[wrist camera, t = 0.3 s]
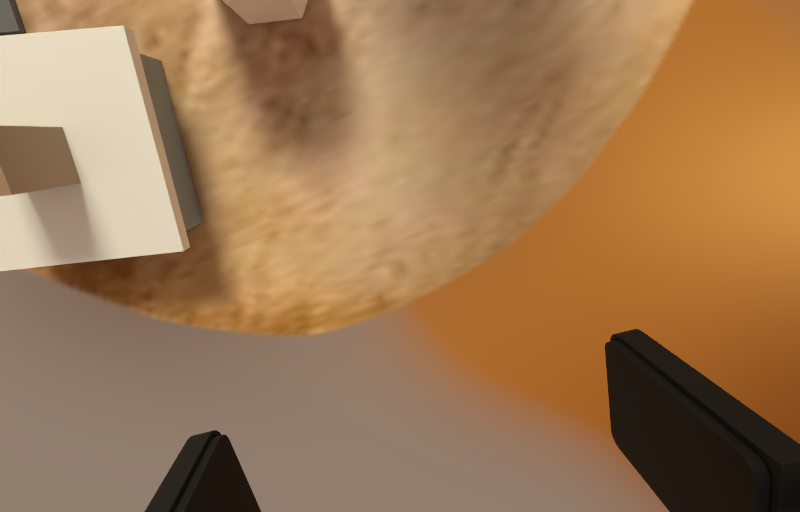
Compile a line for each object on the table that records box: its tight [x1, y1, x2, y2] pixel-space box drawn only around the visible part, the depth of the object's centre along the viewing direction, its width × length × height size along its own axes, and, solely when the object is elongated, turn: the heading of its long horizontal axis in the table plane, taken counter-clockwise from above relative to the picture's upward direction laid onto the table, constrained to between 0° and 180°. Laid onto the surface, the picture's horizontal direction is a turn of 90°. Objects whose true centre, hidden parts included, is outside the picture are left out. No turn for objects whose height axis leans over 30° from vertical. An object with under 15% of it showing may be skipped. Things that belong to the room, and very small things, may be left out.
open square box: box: [140, 54, 203, 231], centre depth 33 cm, size 14×14×6 cm
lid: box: [0, 26, 190, 271], centre depth 27 cm, size 16×16×7 cm
